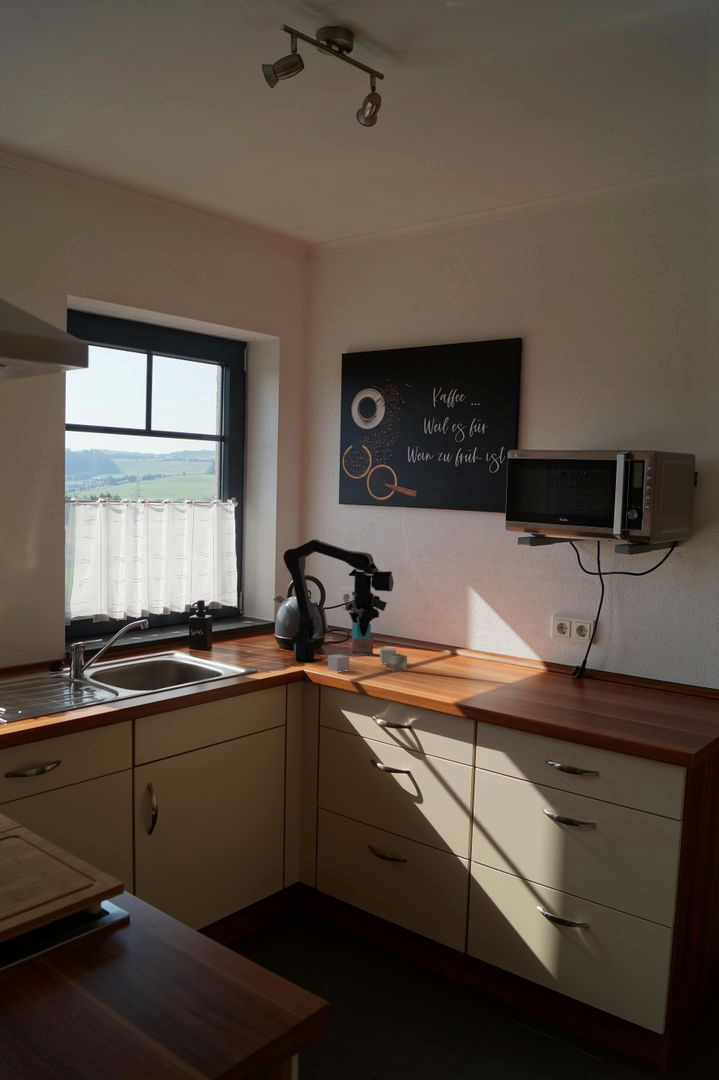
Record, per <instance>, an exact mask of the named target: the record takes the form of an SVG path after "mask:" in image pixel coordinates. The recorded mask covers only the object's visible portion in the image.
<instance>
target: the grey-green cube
mask: <svg viewBox="0 0 719 1080" xmlns="http://www.w3.org/2000/svg"><path fill="white" fill-rule="evenodd" d="M385 665H386V667H385V669H386V668H389V669H391V670H394V671H395V670H407V667H408V656H407V655H405V654H401V653H396V654H387V663H386V664H385ZM391 670H390V671H391ZM407 671H408V670H407Z"/></svg>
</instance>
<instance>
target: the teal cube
mask: <svg viewBox="0 0 719 1080" xmlns="http://www.w3.org/2000/svg"><path fill="white" fill-rule="evenodd" d="M351 624H352V625H351V627H352V628H351V638H352V637H353V638H355V639H370V634H372V633H371V629H372V628H371V627H372V624H371V623H369V626H368V629H367V632H366V635H365V636H362V634H361V631H360V627H359V624H358V622H351Z"/></svg>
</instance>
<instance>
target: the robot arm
mask: <svg viewBox="0 0 719 1080" xmlns="http://www.w3.org/2000/svg"><path fill="white" fill-rule="evenodd" d="M314 553H319V554H321V555H324V556H327V557H330V558H333V559H336V560H339V561H342V562H345V563H346V564H347V565H348V566H350V567H352V568H353V569H352V571H351V572H349V574H348V576H349V577H354V589H353V590H354V591H352V594H351V595H352V596H353V601H348V602H346V604H345V607H344V609H345V611H348V612H347V613H348V614H349V618H350V619H351V621H352V622H358V624H359V627H360V631H361V634H362V636H365V635H366V632H367V629H368V626H369V624H371V621H373V620H374V619H377V618H378V619H379V617H380V611H382V612H385V609H386V607H387V604H388V602H386V601H385V600H384V601H383V600H381V597H380V596H378V595H376V594H374V593H372V591H371V590H372V589H374V591H376V592H377V591H378V592H379V591H380V592H392V591H393V589H394V577H393V571H391V570H390V571H384V570H379V569H378V566H376V564H375V562H374V558H373V556H372V554H371V553H369V552H365V551H364V552H363V551H356V550H355V551H354V550H348V549H345V548H342V547H339V546H336V545H333V544H330V543H328V542H324V541H320V540H319V539H311V540H309V541H307V542H305V543H304V544H302V545H300V546H297V547H293V548H289V549H287V550H285V552H284V553H283V563H284V564H285V566H286V569H287V571H288V572H289V574H290V575H291V578H292V579H291V580H292V584H293V590H294V593H295V599H296V603H297V609H298V623H297V625H298V626H297V629H298V631H297V632H296V633H295V634H294V635H293V636H292V637H291V639H292V644H293V655H292V656H291V659H292V660H294V661H296V662H313V661H315V651H316V650H315V646H314V642H313V641H315V639H316V637H317V636H318V635H319V634H320V631H321V627H322V624H321V622H320V615H317V616H316V615H315V613H314V612H313V609H312V603H311V599H310V594H309V590H308V584H307V580H306V576H305V569H306V558H307V557H309V556H311V555H312V554H314ZM379 610H380V611H379ZM352 622H351V623H352Z"/></svg>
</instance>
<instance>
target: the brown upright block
mask: <svg viewBox="0 0 719 1080" xmlns="http://www.w3.org/2000/svg"><path fill="white" fill-rule="evenodd" d="M374 637H375V635H374V633H371V634H370V639H355V638H353V637H352V636H351V652H350V653H352V654H351V655H354V654H369V655H368V656H372V655H371V654H373V655H374Z"/></svg>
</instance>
